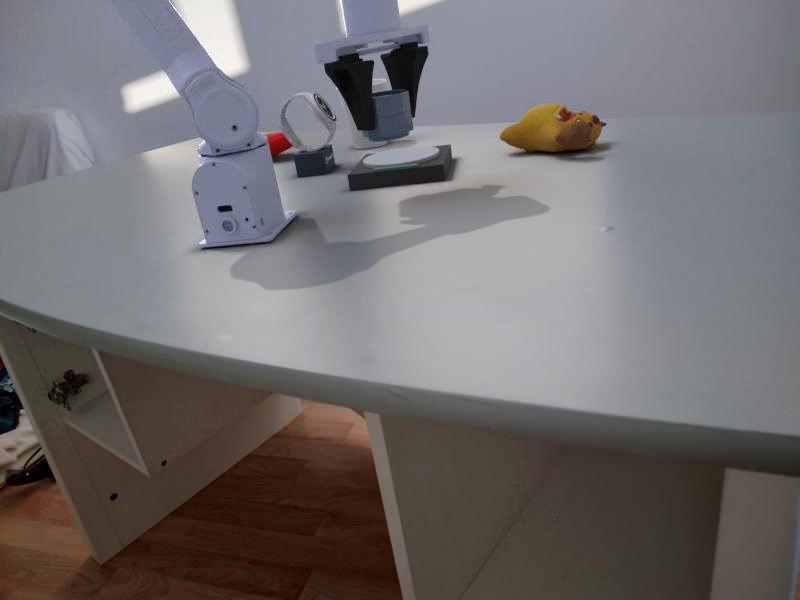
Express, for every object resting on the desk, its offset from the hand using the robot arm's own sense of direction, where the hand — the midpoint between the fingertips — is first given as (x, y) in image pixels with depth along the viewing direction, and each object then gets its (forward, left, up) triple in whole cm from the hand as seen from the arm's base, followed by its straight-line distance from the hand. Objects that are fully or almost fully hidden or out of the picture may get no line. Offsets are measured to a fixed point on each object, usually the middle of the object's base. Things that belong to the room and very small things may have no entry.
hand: (387, 123), depth 70 cm
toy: (+16, -19, -9) cm, 26 cm away
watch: (+20, +15, -9) cm, 27 cm away
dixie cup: (+36, +10, -9) cm, 39 cm away
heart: (+34, +28, -9) cm, 45 cm away
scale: (+12, +1, -8) cm, 15 cm away
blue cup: (0, 0, -1) cm, 1 cm away
